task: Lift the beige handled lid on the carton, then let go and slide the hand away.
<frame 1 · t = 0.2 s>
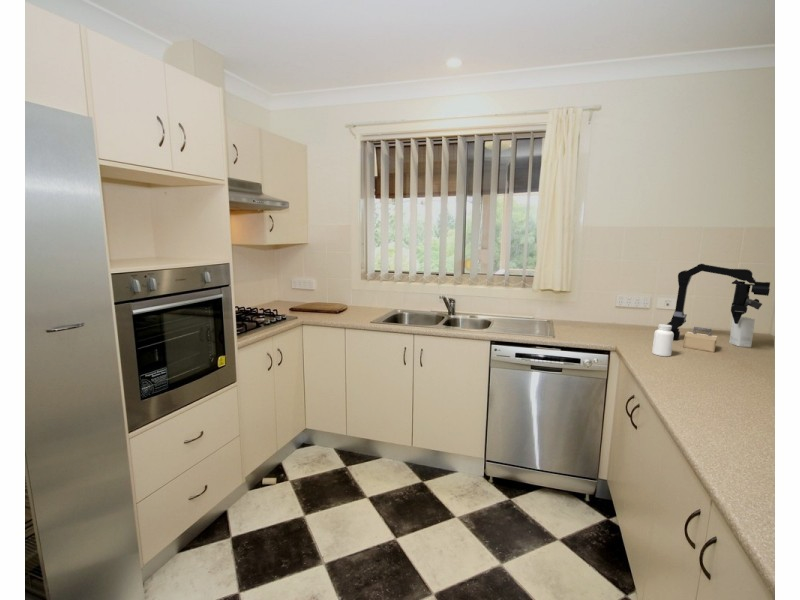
hand: (736, 322, 205), 14 cm above the countertop, tool pointing down, fingers open, 9 cm apart
beige handled lid: (701, 332, 206), point 8 cm above the countertop, hinge at 0.0°
pill bottle: (661, 354, 194), on the countertop
skincare box: (739, 345, 215), on the countertop
carton: (699, 347, 207), on the countertop
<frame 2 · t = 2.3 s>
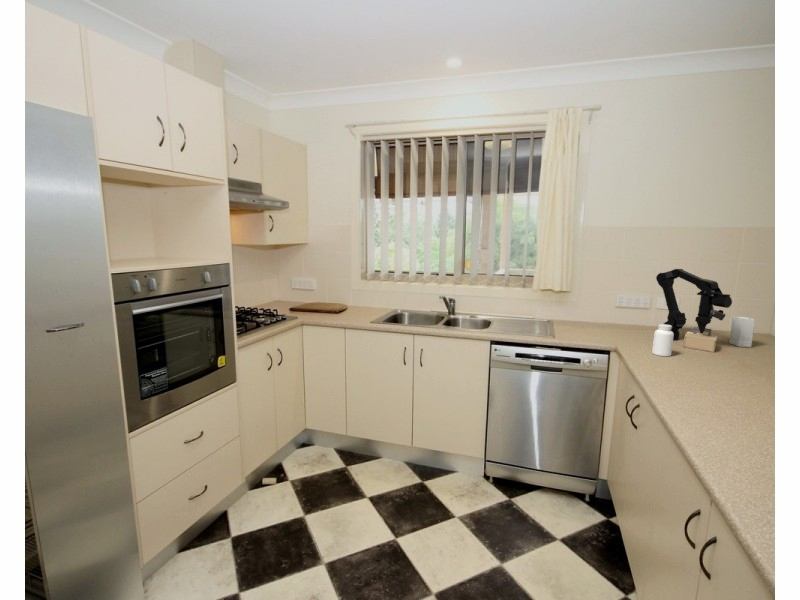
hand: (701, 332, 209), 8 cm above the countertop, tool pointing down, fingers closed on beige handled lid
beige handled lid: (701, 332, 206), point 8 cm above the countertop, hinge at -0.1°, touching gripper
everything else where it was.
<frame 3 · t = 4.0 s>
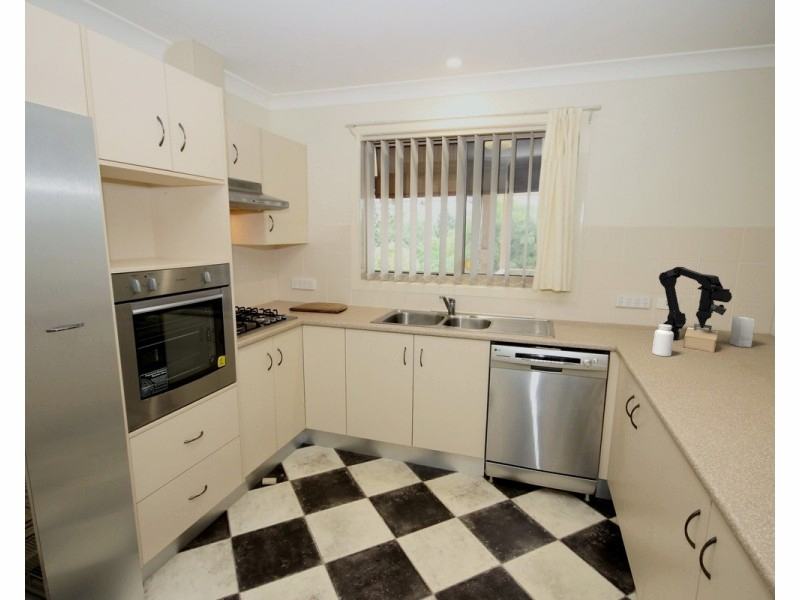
hand: (702, 327, 207), 11 cm above the countertop, tool pointing down, fingers closed
beige handled lid: (701, 330, 205), point 9 cm above the countertop, hinge at 13.6°, touching gripper
everything else where it was.
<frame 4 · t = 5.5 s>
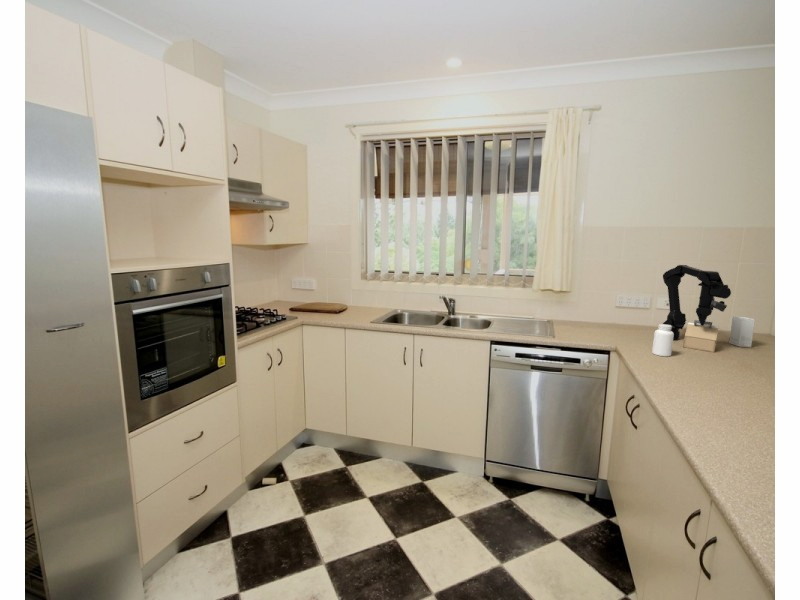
hand: (702, 324, 204), 13 cm above the countertop, tool pointing down, fingers open, 5 cm apart
beige handled lid: (701, 328, 204), point 11 cm above the countertop, hinge at 31.4°
everything else where it was.
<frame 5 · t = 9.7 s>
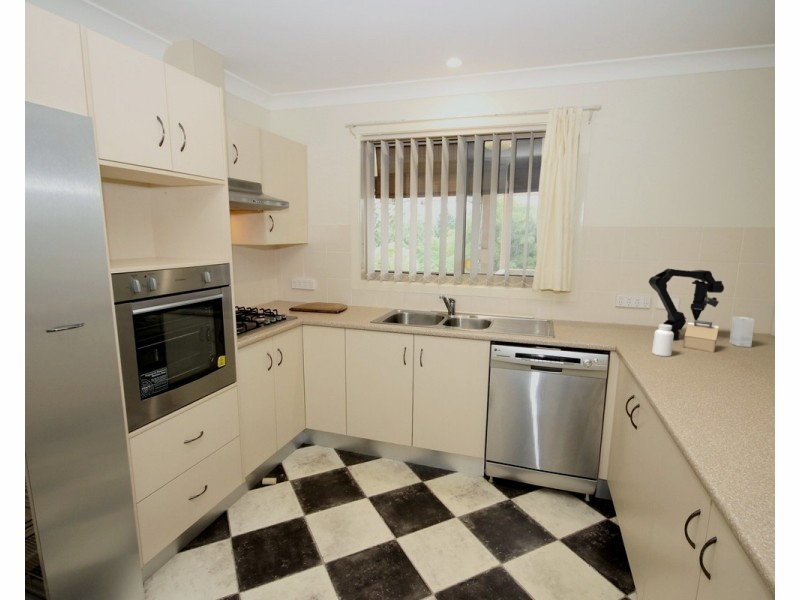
hand: (696, 319, 223), 12 cm above the countertop, tool pointing down, fingers open, 9 cm apart
nothing on the countertop moved.
at the end: beige handled lid at +31° (first picture: +0°); the gripper is holding nothing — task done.
